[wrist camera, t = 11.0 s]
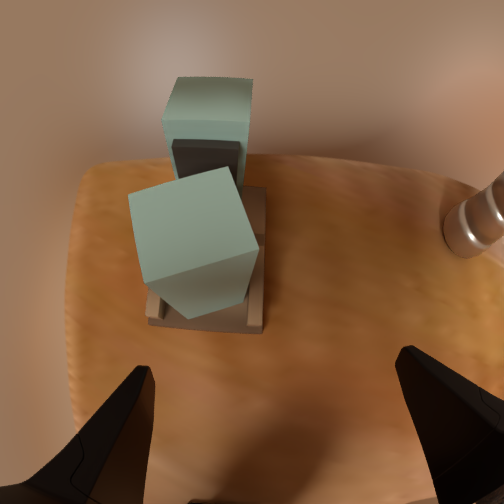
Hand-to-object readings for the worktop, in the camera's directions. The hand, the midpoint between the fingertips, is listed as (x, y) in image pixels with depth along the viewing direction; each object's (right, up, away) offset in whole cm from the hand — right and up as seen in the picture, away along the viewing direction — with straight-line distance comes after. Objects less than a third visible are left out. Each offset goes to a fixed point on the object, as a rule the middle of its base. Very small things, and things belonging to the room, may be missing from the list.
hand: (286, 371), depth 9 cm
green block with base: (-5, +4, +15) cm, 17 cm away
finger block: (-5, +1, +13) cm, 14 cm away
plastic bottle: (+23, +6, +19) cm, 31 cm away
